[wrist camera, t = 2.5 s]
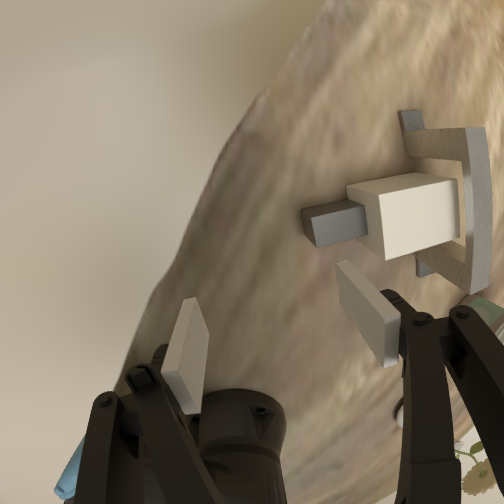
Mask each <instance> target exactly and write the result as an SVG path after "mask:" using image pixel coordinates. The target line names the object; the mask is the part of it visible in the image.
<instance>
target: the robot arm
mask: <svg viewBox="0 0 504 504" xmlns="http://www.w3.org/2000/svg"><path fill="white" fill-rule="evenodd" d="M335 265H336V272H337V280H338V288H339V296H340V303H341V305H342V306H343V308H344V309H345V310H346V312H347V313H348V315H349V316H350V318H351V319H352V321H353V322H354V324H355V325H356V327H357V328H358V330H359V331H360V333H361V334H362V336H363V337H364V339H365V340H366V342H367V343H368V345H369V347H370V348H371V350H372V351H373V353H374V354H375V356H376V357H377V359H378V360H379V362H380V364H381V365H382V367H383V368H387V367H389V366H392V365H394V364H397V363H398V361H399V354H400V355H401V357H402V358H403V369H402V378H403V434H402V450H401V462H400V472H399V481H398V489H397V495H396V499H395V503H394V504H461V462H460V460H459V459H457V458H456V457H455V449H454V433H453V422H452V412H451V404H450V396H449V389H448V383H447V377H446V371H445V366H446V367H447V369H448V371H449V373H450V375H451V377H452V379H453V381H454V383H455V385H456V387H457V389H458V391H459V393H460V395H461V397H462V399H463V401H464V403H465V405H466V407H467V410H468V412H469V414H470V416H471V418H472V421H473V423H474V425H475V427H476V430H477V432H478V434H479V437H480V439H481V442H482V444H483V447H484V449H485V452H486V454H487V457H488V460H489V462H490V465H491V468H492V471H493V473H494V476H495V479H496V482H497V484H498V487H499V489H500V491H501V493H502V494H503V497H504V345H503V344H502V342H501V341H500V340H499V339H498V337H497V336H496V335H495V334H494V332H493V331H492V330H491V329H490V328H489V326H488V325H487V324H486V323H485V322H484V320H483V319H482V318H481V317H480V316H479V315H478V313H477V312H476V311H475V310H474V309H473V308H471V307H469V306H466V305H458V306H455V307H453V308H452V309H451V310H450V312H449V317H445V318H439V319H434V318H433V316H432V315H430V314H429V313H425V312H417V311H416V310H415V309H414V308H413V307H412V306H411V305H409V304H408V303H407V302H406V301H405V300H404V299H403V298H402V297H401V296H400V295H399V294H398V293H397V292H395V291H393V290H390V289H385V290H382V291H378V290H377V289H376V288H375V287H374V286H373V285H372V284H371V283H370V282H369V281H368V280H367V279H366V278H365V277H364V276H363V275H362V274H361V273H360V272H359V271H358V270H357V269H356V268H355V267H354V266H353V265H352V264H351V263H350V262H349V261H348V260H344V261H340V262H336V263H335ZM208 343H209V332H208V329H207V327H206V324H205V321H204V318H203V316H202V313H201V310H200V307H199V305H198V302H197V299H196V297H193V298H189V299H184V300H183V303H182V306H181V309H180V312H179V315H178V318H177V321H176V324H175V327H174V331H173V334H172V337H171V340H170V343H168V344H163V345H160V346H159V347H158V349H157V350H156V351H155V353H154V356H153V359H152V361H151V364H150V365H149V364H139V365H136V366H134V367H132V368H130V369H129V370H128V371H127V372H126V374H125V378H124V379H125V380H126V382H127V384H128V385H129V387H130V388H131V390H132V392H133V393H132V394H129V395H126V396H123V397H120V398H119V397H118V395H117V394H116V393H115V392H113V391H107V392H104V393H102V394H100V395H99V396H98V397H97V398H96V399H95V400H94V403H93V406H92V410H91V414H90V418H89V422H88V427H87V431H86V434H85V436H84V437H83V439H82V441H81V442H80V444H79V446H78V447H77V449H76V451H75V452H74V454H73V456H72V457H71V459H70V461H69V462H68V464H67V466H66V468H65V469H64V471H63V473H62V475H61V477H60V479H59V481H58V483H57V485H56V487H55V488H54V492H55V493H56V494H57V495H58V496H59V497H60V499H62V500H64V499H65V501H64V504H287V499H286V493H285V487H284V482H283V476H282V470H281V464H280V453H281V449H282V445H283V441H284V437H285V433H286V419H285V414H284V411H283V409H282V407H281V406H280V405H279V404H278V403H277V402H276V401H275V400H274V399H272V398H270V397H269V396H266V395H264V394H261V393H258V392H254V391H248V390H224V391H218V392H214V393H211V394H208V395H206V396H204V397H202V394H203V385H204V376H205V368H206V359H207V351H208ZM444 364H445V365H444ZM180 408H181V409H182V411H183V413H184V414H185V415H187V414H188V419H187V429H186V427H185V424H184V422H183V420H182V418H181V417H180V415H179V411H180Z"/></svg>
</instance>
